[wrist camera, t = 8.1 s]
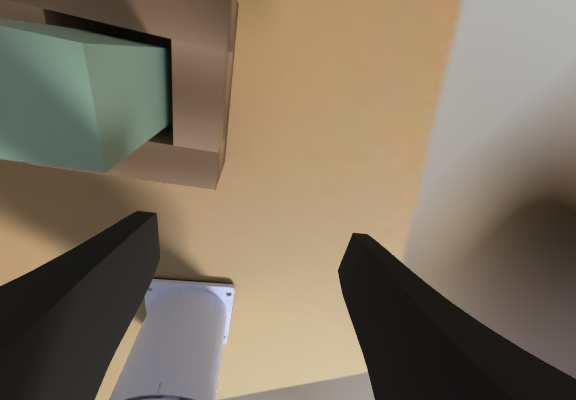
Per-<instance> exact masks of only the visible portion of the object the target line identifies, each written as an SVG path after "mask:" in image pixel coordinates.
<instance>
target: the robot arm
mask: <svg viewBox="0 0 576 400" xmlns="http://www.w3.org/2000/svg"><path fill="white" fill-rule="evenodd" d="M159 260H160V248H159V236H158V224H157V213H151V212H142V211H137V212H135V213H133V214H131V215H129V216H128V217H126V218H124V219H123V220H121V221H119V222H118V223H116V224H114V225H113V226H111V227H109V228H108V229H106V230H104V231H103V232H101V233H99V234H97V235H96V236H94V237H92V238H91V239H89V240H87V241H86V242H84V243H82V244H80V245H79V246H77V247H75V248H73V249H72V250H70V251H68V252H66V253H64V254H62V255H60V256H59V257H57V258H55V259H53V260H51V261H49V262H47V263H46V264H44V265H42V266H40V267H38V268H36V269H35V270H33V271H31V272H29V273H27V274H25V275H23V276H21V277H19V278H17V279H15V280H12V281H10V282H8V283H6V284H4V285H2V286H0V400H95V397H96V395H97V393H98V390H99V388H100V385H101V383H102V381H103V378H104V376H105V373H106V371H107V369H108V366H109V364H110V362H111V360H112V358H113V356H114V354H115V352H116V350H117V348H118V346H119V344H120V342H121V340H122V338H123V336H124V334H125V332H126V331H127V329H128V327H129V325H130V323H131V321H132V319H133V317H134V315H135V313H136V311H137V310H138V308H139V306H140V304H141V302H142V300H143V298H145V307H146V317H145V319H144V322H143V324H142V326H141V329H140V331H139V333H138V335H137V338H136V340H135V342H134V344H133V347H132V349H131V351H130V354H129V356H128V358H127V360H126V363H125V365H124V367H123V370H122V372H121V374H120V376H119V379H118V381H117V383H116V385H115V388H114V390H113V392H112V395H111V397H110V399H109V400H216V395H217V388H218V380H219V372H220V365H221V357H222V349H223V345H224V344H226V343H227V339H228V332H229V325H230V319H231V312H232V305H233V299H234V292H235V286H234V285H232V284H221V283H206V282H192V281H177V280H162V279H153V276H154V274H155V271H156V268H157V265H158V263H159ZM338 274H339V279H340V284H341V289H342V293H343V297H344V300H345V303H346V306H347V309H348V312H349V315H350V318H351V321H352V323H353V326H354V329H355V332H356V335H357V338H358V341H359V344H360V347H361V349H362V352H363V356H364V359H365V362H366V365H367V369H368V373H369V377H370V381H371V385H372V389H373V393H374V397H375V400H576V379H575V378H573V377H571V376H569V375H568V374H566V373H564V372H562V371H560V370H558V369H557V368H555V367H553V366H551V365H549V364H547V363H546V362H544V361H542V360H541V359H539V358H537V357H535V356H534V355H532V354H530V353H528V352H527V351H525V350H523V349H521V348H520V347H518V346H517V345H515V344H514V343H512V342H510V341H509V340H507V339H505V338H504V337H502V336H501V335H499V334H497V333H496V332H494V331H493V330H491V329H490V328H488V327H486V326H485V325H483V324H482V323H480V322H479V321H477V320H476V319H474V318H473V317H472V316H470V315H469V314H467V313H466V312H464V311H463V310H461V309H460V308H459V307H457V306H456V305H454V304H453V303H451V302H450V301H449V300H448V299H446V298H445V297H443V296H442V295H441V294H440V293H438V292H437V291H436V290H435V289H433V288H432V287H431V286H429V285H428V284H427V283H426V282H424V281H423V280H422V279H421V278H419V277H418V276H417V275H416V274H415V273H413V272H412V271H411V270H410V269H409V268H407V267H406V266H405V265H404V264H403V263H402V262H400V261H399V260H398V259H397V258H396V257H395V256H393V255H392V254H391V253H390V252H389V251H388V250H386V249H385V248H384V247H383V246H382V245H380V244H379V243H378V242H377V241H376V240H374V239H373V238H372V237H370V236H369V235H368V234H359V233H353V234H352V237H351V239H350V242H349V244H348V247H347V249H346V252H345V254H344V256H343V259H342V261H341V264H340V266H339V269H338Z"/></svg>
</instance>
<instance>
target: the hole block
mask: <svg viewBox="0 0 576 400" xmlns="http://www.w3.org/2000/svg"><path fill="white" fill-rule="evenodd" d="M238 5H239V4H238V2H237V0H0V18H3V19H11V20H18V21H25V22H33V23H40V24H47V25H55V26H62V27H69V28H76V29H84V30H91V31H98V32H105V33H109V34H114V35H118V36H123V37H127V38H132V39H136V40H141V41H145V42H150V43H154V44H159V45H163V46H168V47H172V97H173V122H172V123H170V124H169V125H168V126H166V127H165V128H164V129H162V130H161V131H160V132H159V133H157V134H156V135H155V136H153V137H152V138H151V139H149V140H148V141H147V142H145V143H144V144H143V145H142V146H140V147H139V148H138V149H136V150H135V151H134V152H132V153H131V154H130V155H128V156H127V157H126V158H125V159H123V160H122V161H121V162H119V163H118V164H117V165H115V166H114V167H113V168H112V169H110V170H109V171H108V172H106V173H102V172H95V171H87V170H79V169H72V168H64V167H56V166H49V165H41V164H34V163H29V164H30V165H38V166H45V167H52V168H60V169H67V170H74V171H82V172H89V173H97V174H104V175H111V176H119V177H126V178H134V179H141V180H148V181H156V182H163V183H171V184H178V185H185V186H193V187H200V188H207V189H215V190H216V187H217V184H218V181H219V178H220V175H221V172H222V169H223V166H224V163H225V153H226V141H227V130H228V119H229V107H230V96H231V84H232V73H233V62H234V50H235V39H236V28H237V16H238Z"/></svg>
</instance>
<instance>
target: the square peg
mask: <svg viewBox="0 0 576 400" xmlns="http://www.w3.org/2000/svg"><path fill="white" fill-rule="evenodd" d="M172 122H173V97H172V47H168V46H163V45H159V44H154V43H150V42H145V41H141V40H136V39H132V38H127V37H123V36H118V35H114V34H109V33H105V32H98V31H91V30H84V29H76V28H69V27H62V26H55V25H47V24H40V23H33V22H25V21H18V20H11V19H3V18H0V159H3V160H11V161H18V162H26V163H34V164H41V165H49V166H56V167H64V168H72V169H79V170H87V171H95V172H102V173H106V172H108V171H109V170H110V169H112V168H113V167H114V166H115V165H117V164H118V163H119V162H121V161H122V160H123V159H125V158H126V157H127V156H128V155H130V154H131V153H132V152H134V151H135V150H136V149H138V148H139V147H140V146H142V145H143V144H144V143H145V142H147V141H148V140H149V139H151V138H152V137H153V136H155V135H156V134H157V133H159V132H160V131H161V130H162V129H164V128H165V127H166V126H168V125H169V124H170V123H172Z"/></svg>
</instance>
